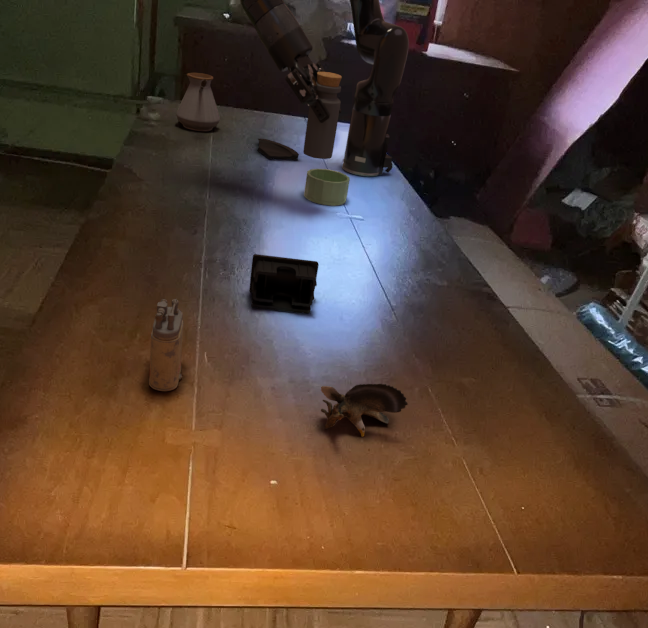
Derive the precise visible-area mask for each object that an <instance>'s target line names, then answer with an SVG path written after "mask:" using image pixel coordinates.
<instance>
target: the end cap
mask: <svg viewBox="0 0 648 628" xmlns="http://www.w3.org/2000/svg"><path fill="white" fill-rule="evenodd" d="M251 259H252V260H251V269H250V277H249V278H250V279H249V289H248V290H249V293H251V308H253V309H260V310H267V311H268V310H269V311H278V312H286V313H287V312H288V313H297V314H306V315H309V314H311V312H312V305H313V303H314V301H315V289H316V287H317V286H318V284H317V283H318V282H317V277H318V272H319V261H316V260H307V259H300V258H291V257H284V256H275V255H266V254H260V253H259V254H258V253H254V254H253V255H252V258H251Z"/></svg>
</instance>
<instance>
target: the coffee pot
mask: <svg viewBox="0 0 648 628" xmlns="http://www.w3.org/2000/svg"><path fill="white" fill-rule="evenodd" d="M186 76H187V78H188V81H189V85H188V86H187V89H186V91H185V93H184V95H183V98H182V100H181V102H180V104H179V106H178V108H177V110H176V112H175V116H176V118H177V120H178V122H179V123H181V124H182V127H184V128H185V129H188V130H191V131H195V132H196V131H197V132H209V131H212V130H213V129H214V128H216V126H218V125H219V123H220V121H221V116H220V112H219V110H218V106H217V103H216V100H215V97H214V93H213V90H212V88H211V84H212V81H213V80H214V76H212V75H210V74H207V73H204V72H203V73H201V72H188V73H186Z"/></svg>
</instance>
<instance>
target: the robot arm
mask: <svg viewBox="0 0 648 628" xmlns="http://www.w3.org/2000/svg"><path fill="white" fill-rule="evenodd" d="M239 2H240V5H241V8H242V10H243V11H244V13H245V14H246V16H247V17H248V20H249V21H250V22H251V24H252V27H254V29H255V31H256V33H257V35H258V37H259V40H260V41H261V43H262V45H263V46H264V48H265V49H266V51H267V53H268V54H269V56H270V58H271V59H272V61H273V62H274V64H275V66H276V67H277V69H278V71H280V72H286V71H288V72H289V73H288V74H286V75H285V76H284V80H285V81H286V83H287V84H288V86H289V87H290V89H291V90H292V92H293V93H294V94H295V96H296V97H297V99H298V100H299V102H300V103H301V104H302V105H303V106H305V105H307V107H308V108H309V107H310V106H311V108H312V110H313V112H314V113H315V115H316V116H317V118H318V120H319V121H320V123H323V122H325V121H326V120H328V119H329V118H330V114H329V112H328V111H327V109H326V107H325V106H324V104H323V102H322V101H321V99H320V98H319V95H318V93H317V90H316V89H317V83H316V82H317V73H318V72H326V70H325V69H324V67H323V64H322V63H321V62H320V61H317V62H316V63H314V62H313V61H312V60H311V58H310V57H309V54H311V53H312V51H313V45H312V43H311V42H310V40H309V38H308V36H307V35H306V33H305V32H304V30H303V28H302V27H301V25H300V23H299V21H298V20H297V18H296V17H295V15H294V14H293V12H292V11H291V10H290V8H289V7H288V6H287V4H286V3H285V1H284V0H239ZM349 5H350V10H351V11H350V12H351V17H352V24H353V33H354V40H355V46H356V50H357V53H358V56H359V58H361V60H363V61H364V62H365V63H366V64H369V65H372V68H371V72H370V76H369V77H368V78H367V79H364V80H360V81H357V83H356V85H355V92H354V97H353V103H352V108H351V109H352V110H351V115H350V121H349V125H348V126H349V127H348V133H347V138H346V143H345V150H344V156H343V159H342V160H343V162H342V165H341V168H342V170H343V171H345V172H347V173H349V174H352V175H355V176H361V177H377V176H382V175H383V173H384V168H386V169H385V172H386V173H389V172H390V171H391V170H392V169H393V166H394V165H393V157H392V156H390V155H389V154H387V153H388V149H389V148H388V147H389V143H390V138H391V137H390V135H389V134H388V131H389V125H390V120H391V116H392V115H391V114H392V111H393V105H394V100H395V96H396V94H397V92H398V90H399V88H400V86H401V84H402V78H403V74H404V72H405V67H406V63H407V58H408V55H409V48H410V40H409V35H408V32H407V30H406V29H405V28H404V27H402V26H401V25H397V24H394V23H391V22H387V21H386V20H385V19H384V16H383V12H382V9H381V4H380V0H349ZM319 99H320V100H319ZM341 113H342V108H341V107H340V110H339V115H340V114H341Z"/></svg>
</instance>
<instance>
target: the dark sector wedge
mask: <svg viewBox="0 0 648 628" xmlns="http://www.w3.org/2000/svg"><path fill="white" fill-rule="evenodd" d="M257 140H258V147H257V151H258V152H259V153H261V154H262V155H263V156H265V157H266V158H267V159H268V160H276V161H277V160H278V161H283V160H284V161H299V155H300V154H299V153H298V152H297V151H296V150H295V149H293V148H292V147H290V146H288V145H285V144H283V143H281V142H277V141H274V140H271V139H267V138H257Z"/></svg>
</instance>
